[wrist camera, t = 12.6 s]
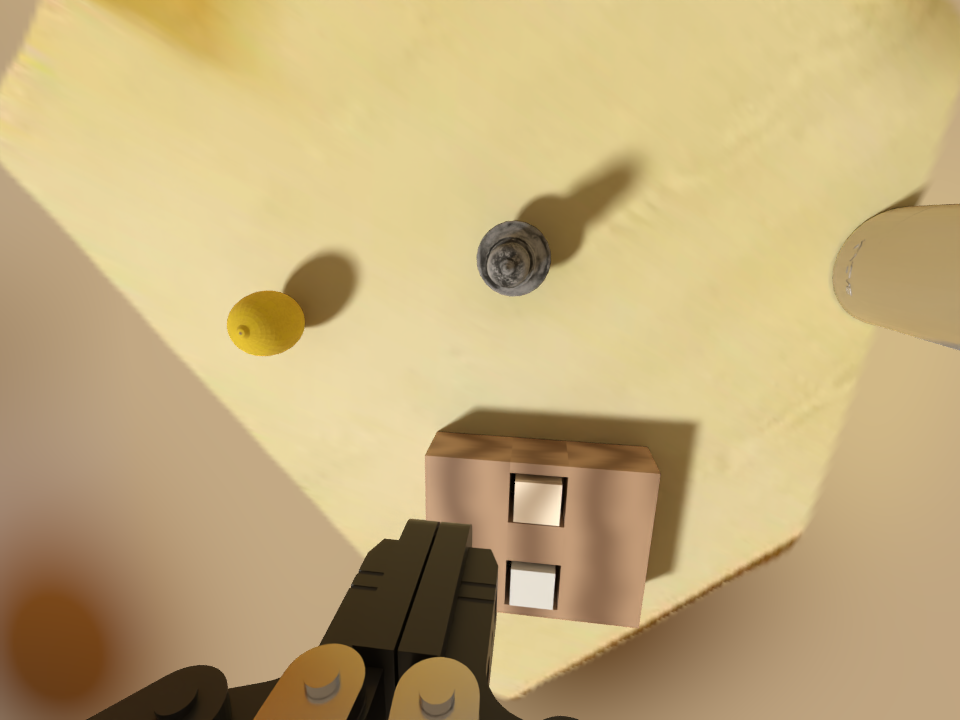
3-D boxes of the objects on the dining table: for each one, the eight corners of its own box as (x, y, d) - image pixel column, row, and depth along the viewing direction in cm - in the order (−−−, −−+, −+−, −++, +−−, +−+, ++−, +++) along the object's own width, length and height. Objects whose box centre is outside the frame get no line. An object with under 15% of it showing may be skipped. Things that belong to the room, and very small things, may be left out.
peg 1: (559, 457, 44) (562, 485, 40) (557, 494, 45) (559, 526, 41) (517, 454, 45) (515, 481, 40) (515, 491, 46) (513, 521, 41)
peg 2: (553, 538, 47) (555, 573, 42) (551, 571, 48) (552, 610, 43) (513, 534, 47) (510, 569, 43) (512, 567, 48) (509, 605, 44)
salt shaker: (560, 234, 39) (568, 237, 28) (535, 300, 41) (534, 328, 30) (494, 211, 40) (476, 205, 28) (473, 277, 41) (447, 297, 30)
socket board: (647, 446, 44) (660, 473, 39) (628, 588, 48) (638, 628, 43) (436, 431, 46) (425, 455, 41) (437, 568, 50) (427, 604, 45)
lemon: (278, 349, 45) (225, 374, 38) (254, 295, 44) (195, 309, 37) (328, 334, 44) (284, 356, 37) (305, 278, 43) (255, 289, 36)
